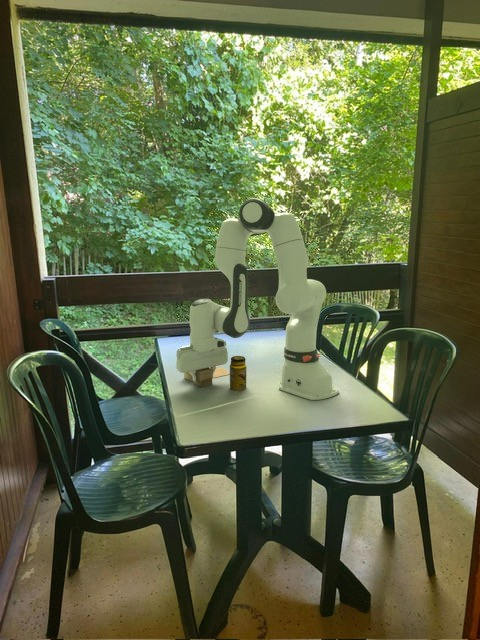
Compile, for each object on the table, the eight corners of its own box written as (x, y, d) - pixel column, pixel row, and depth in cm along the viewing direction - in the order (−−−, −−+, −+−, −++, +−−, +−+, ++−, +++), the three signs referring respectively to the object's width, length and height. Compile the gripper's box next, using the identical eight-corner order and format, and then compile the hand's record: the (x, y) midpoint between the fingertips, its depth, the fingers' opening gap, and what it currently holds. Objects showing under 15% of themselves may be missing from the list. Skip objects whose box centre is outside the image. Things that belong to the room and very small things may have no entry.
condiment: (249, 391, 156) (249, 359, 153) (226, 393, 154) (226, 361, 151) (244, 384, 163) (244, 353, 160) (222, 386, 161) (222, 355, 158)
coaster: (232, 374, 173) (232, 373, 173) (209, 380, 167) (208, 378, 167) (218, 367, 182) (218, 366, 182) (195, 372, 176) (195, 371, 176)
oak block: (202, 378, 168) (201, 363, 167) (192, 381, 165) (191, 366, 164) (194, 375, 172) (193, 360, 171) (184, 378, 168) (183, 363, 167)
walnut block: (212, 384, 161) (212, 369, 160) (200, 387, 159) (200, 371, 157) (205, 380, 165) (205, 365, 164) (194, 383, 163) (193, 368, 161)
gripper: (180, 349, 150) (181, 387, 153) (230, 341, 162) (230, 376, 164) (172, 345, 156) (173, 382, 158) (221, 337, 167) (221, 372, 170)
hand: (203, 379), depth 162 cm, fingers closed on walnut block, 5 cm apart
